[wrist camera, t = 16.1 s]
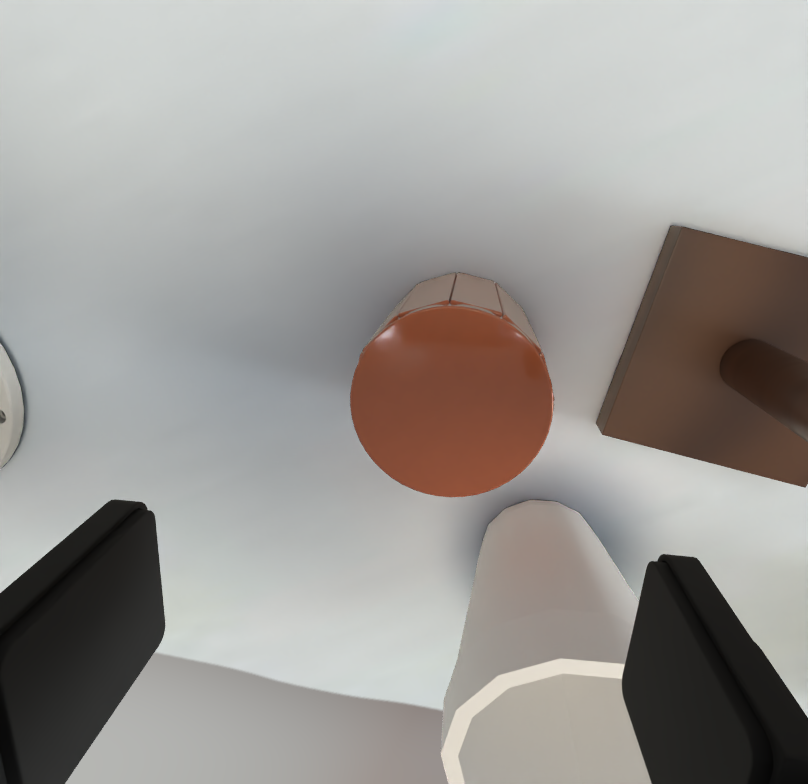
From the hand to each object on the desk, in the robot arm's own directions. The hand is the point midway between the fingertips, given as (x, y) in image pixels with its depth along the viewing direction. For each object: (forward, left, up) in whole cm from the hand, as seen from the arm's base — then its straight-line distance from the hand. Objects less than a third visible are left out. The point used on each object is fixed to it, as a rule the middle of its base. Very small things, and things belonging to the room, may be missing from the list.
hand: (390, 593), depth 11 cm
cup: (+1, 0, -19) cm, 19 cm away
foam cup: (+8, -10, -19) cm, 23 cm away
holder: (+14, +3, -19) cm, 24 cm away
